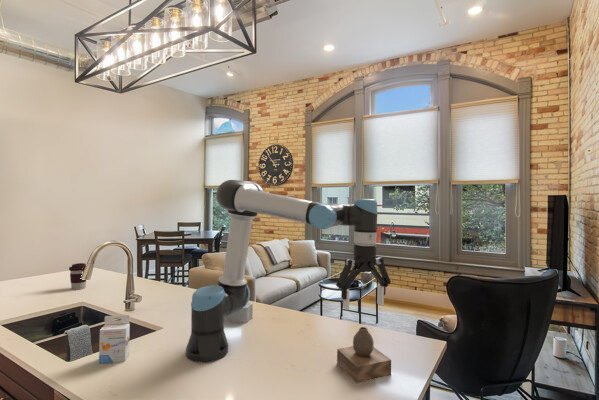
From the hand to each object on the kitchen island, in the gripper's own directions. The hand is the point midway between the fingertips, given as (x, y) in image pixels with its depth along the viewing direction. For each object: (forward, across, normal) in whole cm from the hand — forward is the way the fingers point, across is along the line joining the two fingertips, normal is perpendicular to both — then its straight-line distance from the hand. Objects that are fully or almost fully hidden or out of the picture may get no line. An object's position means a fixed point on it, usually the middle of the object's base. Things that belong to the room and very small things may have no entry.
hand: (363, 306), depth 110 cm
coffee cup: (+23, -113, +143) cm, 183 cm away
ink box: (+22, -79, +36) cm, 89 cm away
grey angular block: (+22, -31, +60) cm, 71 cm away
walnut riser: (+21, 0, 0) cm, 21 cm away
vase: (+16, 0, 0) cm, 16 cm away
